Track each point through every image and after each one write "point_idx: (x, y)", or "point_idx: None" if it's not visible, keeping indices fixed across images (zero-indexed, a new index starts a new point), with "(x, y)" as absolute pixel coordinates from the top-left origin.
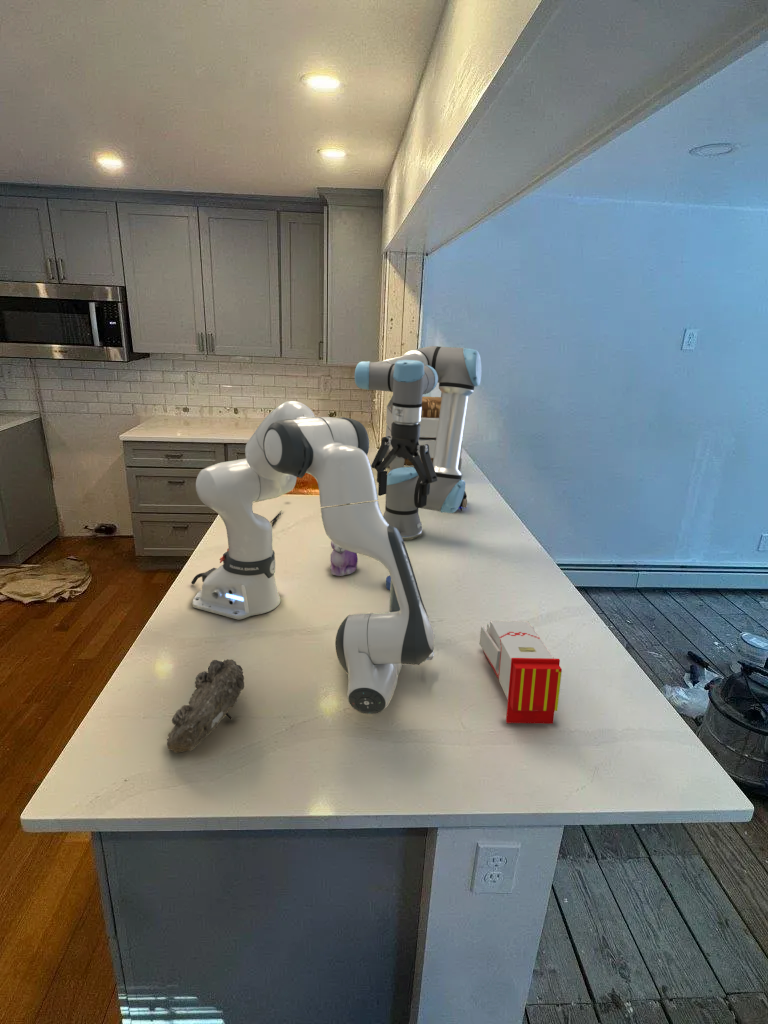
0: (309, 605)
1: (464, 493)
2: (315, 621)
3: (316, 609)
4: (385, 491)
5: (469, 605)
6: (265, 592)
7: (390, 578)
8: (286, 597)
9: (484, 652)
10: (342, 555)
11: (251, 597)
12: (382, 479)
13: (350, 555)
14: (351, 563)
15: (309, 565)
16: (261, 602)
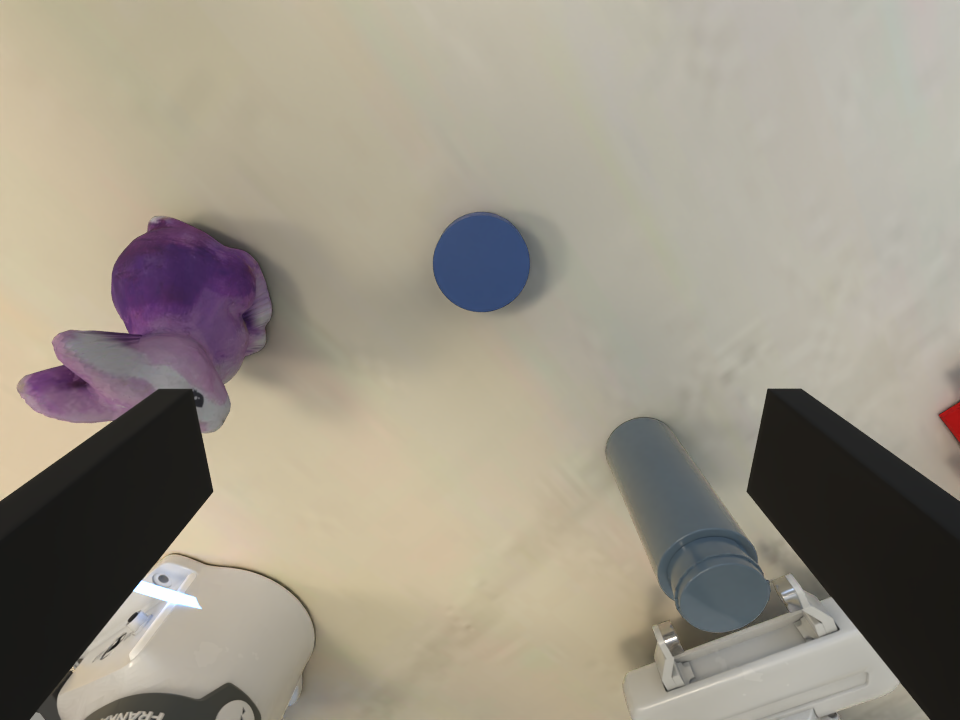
0: (360, 547)
1: None
2: (443, 589)
3: (394, 549)
4: (176, 419)
5: (801, 179)
6: (283, 688)
7: (456, 280)
8: (272, 558)
9: (951, 430)
10: (223, 375)
11: (280, 718)
12: (69, 622)
13: (224, 316)
14: (248, 307)
15: None
16: (295, 676)
